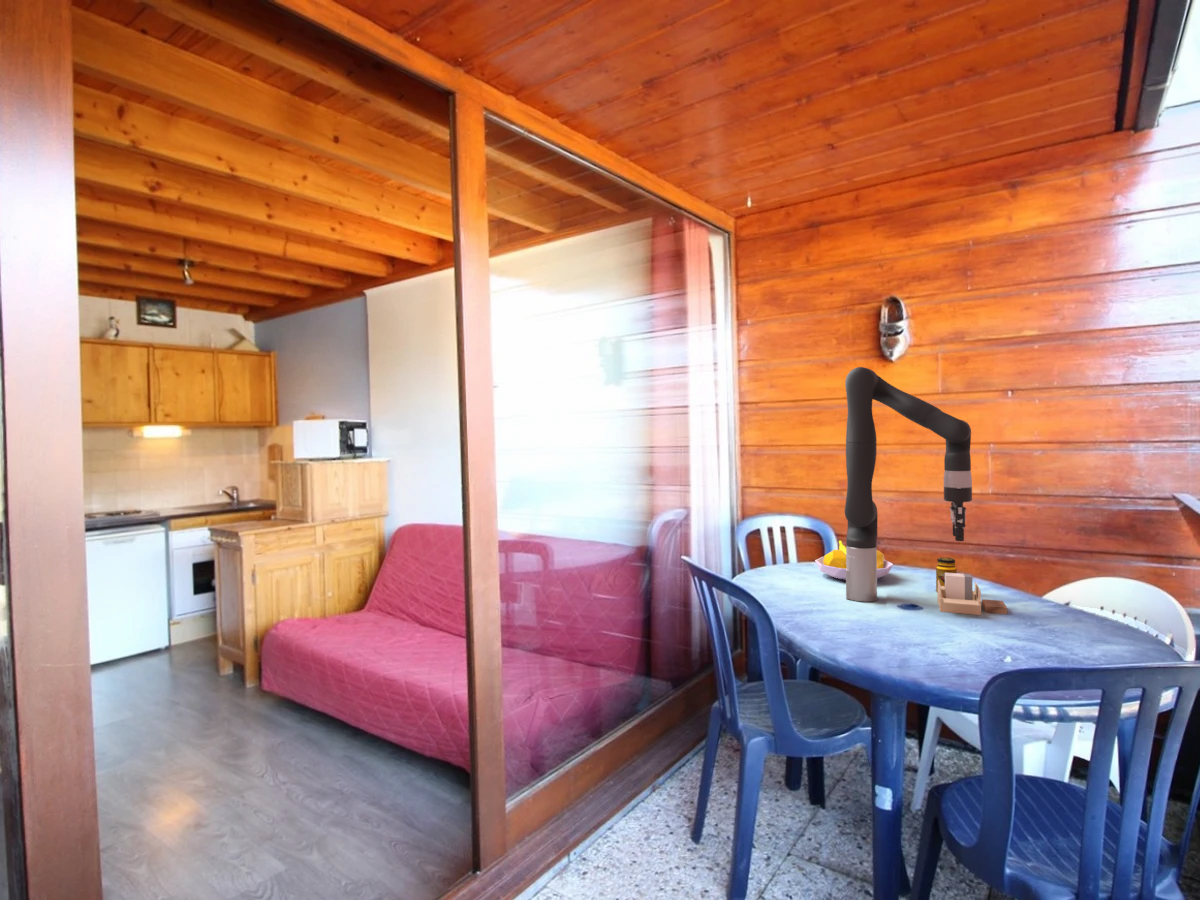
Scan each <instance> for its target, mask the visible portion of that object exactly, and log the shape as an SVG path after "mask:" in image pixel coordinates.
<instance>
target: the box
mask: <svg viewBox="0 0 1200 900" xmlns="http://www.w3.org/2000/svg"><path fill="white" fill-rule="evenodd" d="M972 590H973V576H972V575H971V574H969V573H958V572H957V573H945V598H948V599H961V600H972Z"/></svg>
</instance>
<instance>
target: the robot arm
mask: <svg viewBox="0 0 1200 900" xmlns="http://www.w3.org/2000/svg"><path fill="white" fill-rule="evenodd" d="M844 382H845V393H846V402H847V403H846V404H847V418H846V431H845V432H846V434H845V435H846V436H845V461H846V462H845V464H846V467H845V468H846V479H847V484H846V485H847V488H846V498H845V505H844V516H845V518H846V521H847V532H846V539H845V541H846V542H845V545H846V566H847V569H846V580H845V595H846V596H845V599H846V600H851V601H856V602H875V601H877V600H878V579H877V550H878V549H877V545H878V544H877V543H878V541H877V540H878V507H877V505H876V502H874V501H873V486H872V485H873V478H874V473H875V469H876V468H875V467H876V461H877V445H878V444H877V442H878V441H877V431H876V426H875V422H874V416H873V400H874V401H876V402H878V403H881V404H884V405H885V406H887V407H889V408H891V409H892V410H893V411H895V412H897V413H898V414H899V415H901V416H903V417H904V418H907V419H908V420H910V421H911V422H913V423H916V424H917V425H918V426H921V427H923V428H926V429H927V430H930V431H931V432H932V433H935V434H936V435H938V436H939V437H940V438H943V439H944V440H945V454H944V460H943V461H944V462H943V463H944V464H943V465H944V466H943V467H944V469H943V470H944V472H943V501H945V502H950V507H949V511H950V512H949V513H950V519H951V520H950V521H951V524H952V536H953V537H954V539H955V541H956V542H964V540H965V527H966V520H967V519H966V513H967V508H966V506H964V503H970V502H972V500H973V476H972V471H971V470H972V463H971V461H972V459H971V443H972V442H971V441H972V438H971V437H972V428H971V426H970V424H969V423H968V422H966V421H965V420H962V419H960V418H957V417H955V416H953V415H951V414H949V413H946V412H944V411H942V410H941V409H940V408H939V407H937V406H935V405H933V404H932V403H930V402H927V401H925V400H924V399H922V398H919V397H917V396H916V395H915V396H914V395H913V394H910V393H907V392H906V391H903V390H901V389H899V388H898V387H896V386H894V385H892V384H890V382H888V381H886V380H884V378H882V377H881V376H879V375H878V374H876V372H875V371H874V370H872V369H870V368H868V367H864V366H858V367H855V368H852V369H851V370H850V371H849V372H848V374H847V375H846V376H845V381H844Z"/></svg>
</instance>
